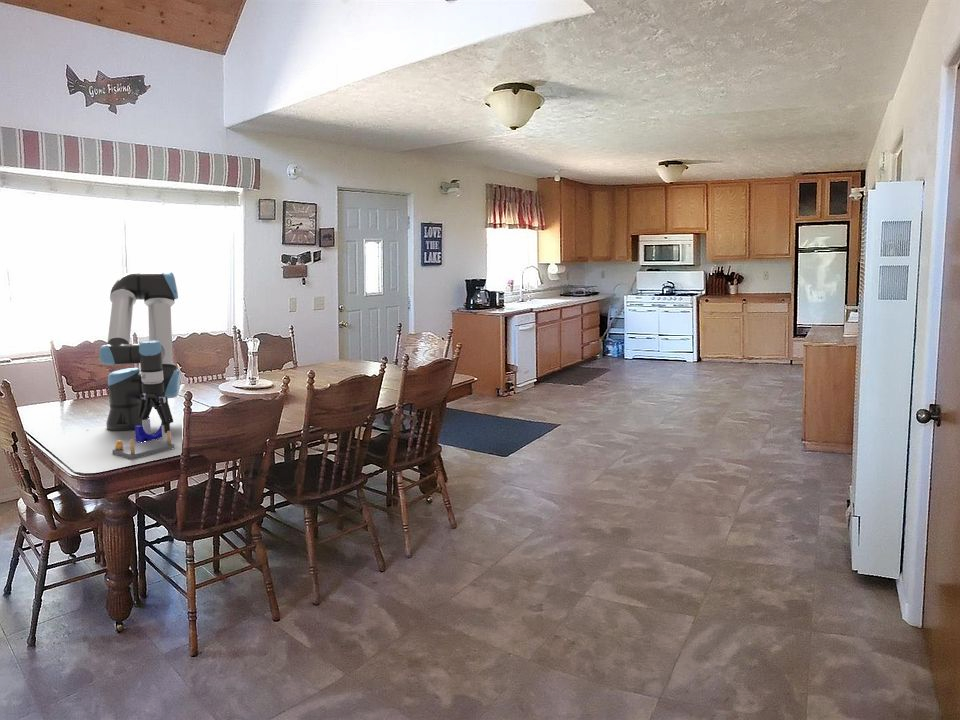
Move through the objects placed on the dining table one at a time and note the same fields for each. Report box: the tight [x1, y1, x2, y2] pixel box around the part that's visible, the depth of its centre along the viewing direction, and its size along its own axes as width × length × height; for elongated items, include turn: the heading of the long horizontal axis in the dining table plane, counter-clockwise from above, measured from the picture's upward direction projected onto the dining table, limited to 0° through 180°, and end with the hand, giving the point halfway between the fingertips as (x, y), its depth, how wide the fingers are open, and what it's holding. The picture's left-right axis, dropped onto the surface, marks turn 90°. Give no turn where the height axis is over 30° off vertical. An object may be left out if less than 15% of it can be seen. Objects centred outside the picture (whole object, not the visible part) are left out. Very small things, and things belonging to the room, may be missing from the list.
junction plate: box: [111, 430, 175, 460], centre depth 254 cm, size 12×16×6 cm
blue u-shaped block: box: [134, 422, 162, 443], centre depth 271 cm, size 12×4×6 cm, turn 143°
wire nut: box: [114, 439, 124, 450], centre depth 251 cm, size 2×2×3 cm
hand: (156, 438), depth 270 cm, fingers open, 12 cm apart
